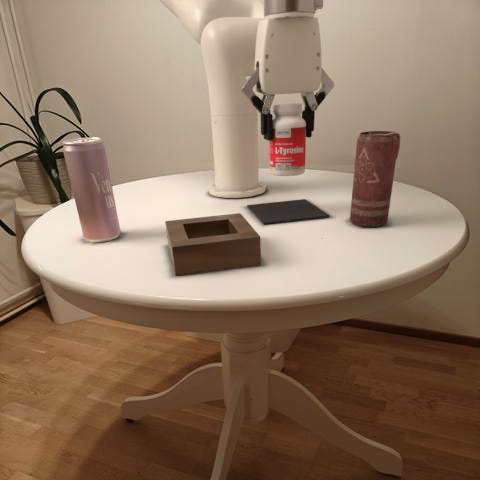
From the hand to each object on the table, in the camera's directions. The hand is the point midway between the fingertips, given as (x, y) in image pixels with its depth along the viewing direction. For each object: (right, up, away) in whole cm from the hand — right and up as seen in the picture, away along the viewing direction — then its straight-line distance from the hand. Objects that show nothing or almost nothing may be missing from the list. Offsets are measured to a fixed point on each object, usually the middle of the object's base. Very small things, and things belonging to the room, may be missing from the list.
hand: (287, 137), depth 72 cm
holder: (-12, -22, -11) cm, 27 cm away
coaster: (0, -11, +7) cm, 13 cm away
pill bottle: (0, -6, +3) cm, 6 cm away
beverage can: (-31, -18, -2) cm, 36 cm away
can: (+14, -15, -1) cm, 20 cm away
